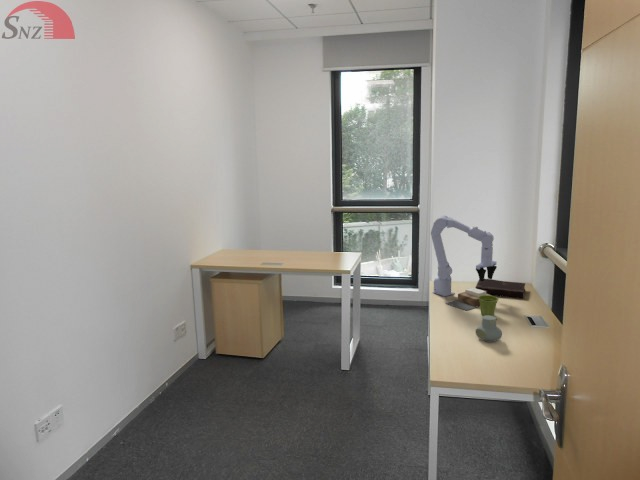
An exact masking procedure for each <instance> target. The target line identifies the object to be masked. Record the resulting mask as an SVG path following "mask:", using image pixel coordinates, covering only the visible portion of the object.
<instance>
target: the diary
mask: <svg viewBox="0 0 640 480" xmlns="http://www.w3.org/2000/svg"><path fill="white" fill-rule="evenodd" d="M475 288H476V289H480V290H483V291H486V294H489V295H492V296H495V297H500V296H501V297H503V298H512V299H519V300H520V299H521V300H523V299H524V297H525V296H524V295H525V292H526V283H525V282H518V281H517V282H516V281H505V280H504V281H503V280H499V279H493V278H492V279H488V278H484V281H480V279H478V281H477V283H476V286H475Z"/></svg>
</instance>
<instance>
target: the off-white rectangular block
mask: <svg viewBox="0 0 640 480" xmlns="http://www.w3.org/2000/svg"><path fill="white" fill-rule="evenodd" d="M464 292H465V293H466V294H470V295H473V296H476V297H479V296H482V295H486V291H483V290H480V289H476V287H470V288H466V289H465V291H464Z"/></svg>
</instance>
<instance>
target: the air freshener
mask: <svg viewBox="0 0 640 480" xmlns="http://www.w3.org/2000/svg"><path fill="white" fill-rule="evenodd" d="M497 322H498V321H497V317H495V315H494V316H490V315H486V316H483V315H482V318H481V324H480V325H478V326H477V327H476V329H475V335H476V336H477V338H479V340H481V341H482V342H483V341H484V342H487V341H488V342H489V343H490V342H491V343H492V342H497V341H499V340H500V339H501V338H503V337H502V336H503V331H502V330H501V328H499V326H497ZM488 342H487V343H488Z"/></svg>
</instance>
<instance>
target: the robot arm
mask: <svg viewBox="0 0 640 480" xmlns="http://www.w3.org/2000/svg"><path fill="white" fill-rule="evenodd" d="M445 228H447V229H450V228H454V229H457V230H459V231H461V232H463V233H464V232H465V233H466V234H467V235H468V237H469V238H472V239H474V240H476V241H478V242H481V249H480V250H481V251H480V263H478V264H476V265H475V271H476V272H477V275H478V278H479V279H480V281H484V279H485V277H486V276H485V275H486V274H487V279H493V276H494V273H495V271H496V270H497V261H494V260H493V253H494V251H493V250H494V249H493V248H494V245H493V242H494V239H495V238H494V235H493V234H492V233H491V232H487V231H486V230H482V229H480V228H479V227H478V226H472V227H470V226H468V225H466V224H464V223H462V222H460V221H458V220H456V219H454V218H453V217H450V216H447V215H441V216H440V217H439V218H437V219H436V220H435V221H434V222H433V224H432V228H431V230H430V236H431V240H432V244H433V247H434V248H433V249H434V251H435V257H436V260H437V269H438V270H437V271H438V272H437V276H436V277H435V278H434V280H433V291H432V293H434V294H437V295H439V296H443V297H447V296H452V295H454V294H455V292H453V291H452V277H451V274H452V273H453V269H452V267H451V266H450V263H449V261H448V259H447V254H446V251H445V247H444V243H443V239H442V235H441V234H442V232H443V231H444V230H445ZM486 272H487V273H486ZM479 279H478V280H479Z"/></svg>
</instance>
